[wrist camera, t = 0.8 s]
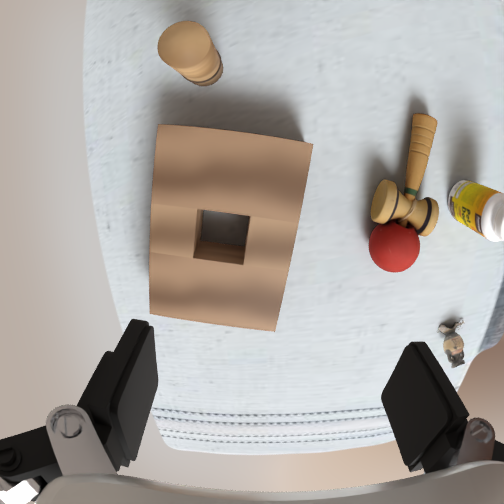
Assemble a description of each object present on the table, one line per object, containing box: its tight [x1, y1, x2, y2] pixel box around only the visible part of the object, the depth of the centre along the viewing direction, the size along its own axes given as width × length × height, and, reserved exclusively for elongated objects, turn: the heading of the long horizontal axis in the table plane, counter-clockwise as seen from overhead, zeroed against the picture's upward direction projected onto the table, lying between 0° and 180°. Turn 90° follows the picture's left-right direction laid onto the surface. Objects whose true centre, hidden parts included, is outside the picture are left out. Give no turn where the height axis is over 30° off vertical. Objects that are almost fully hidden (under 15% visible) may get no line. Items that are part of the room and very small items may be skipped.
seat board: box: [149, 124, 313, 332], centre depth 32 cm, size 20×14×5 cm
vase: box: [438, 322, 465, 368], centre depth 39 cm, size 5×5×6 cm
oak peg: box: [158, 21, 223, 86], centre depth 22 cm, size 4×4×12 cm
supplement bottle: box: [448, 180, 504, 242], centre depth 28 cm, size 6×6×10 cm
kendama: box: [369, 113, 439, 272], centre depth 31 cm, size 8×6×18 cm
